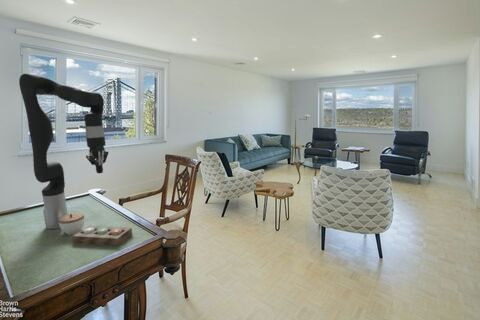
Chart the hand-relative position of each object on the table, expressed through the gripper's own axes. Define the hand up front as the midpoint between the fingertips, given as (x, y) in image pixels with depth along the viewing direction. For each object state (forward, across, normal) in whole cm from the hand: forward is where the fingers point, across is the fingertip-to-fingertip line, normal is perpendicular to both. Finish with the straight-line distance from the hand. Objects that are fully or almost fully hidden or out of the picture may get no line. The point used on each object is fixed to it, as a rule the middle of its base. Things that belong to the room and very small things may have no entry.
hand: (99, 172), depth 128 cm
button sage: (+27, +8, +4) cm, 29 cm away
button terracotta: (+27, +8, +11) cm, 31 cm away
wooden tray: (+29, +8, +4) cm, 30 cm away
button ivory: (+27, +8, -3) cm, 29 cm away
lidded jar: (+29, +3, -16) cm, 34 cm away
